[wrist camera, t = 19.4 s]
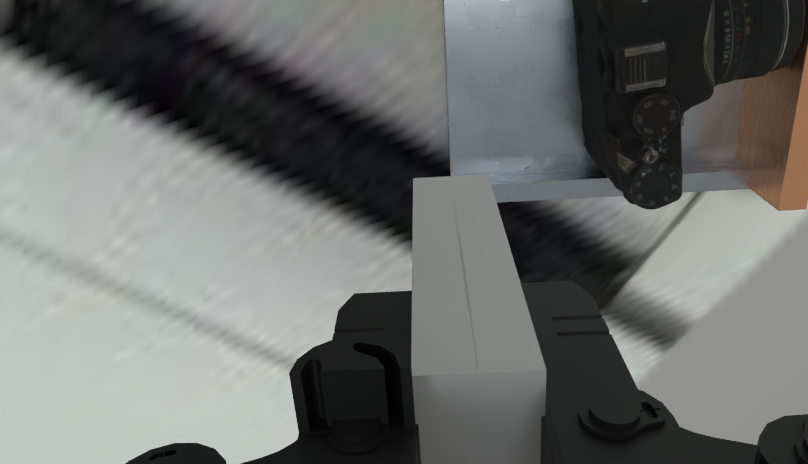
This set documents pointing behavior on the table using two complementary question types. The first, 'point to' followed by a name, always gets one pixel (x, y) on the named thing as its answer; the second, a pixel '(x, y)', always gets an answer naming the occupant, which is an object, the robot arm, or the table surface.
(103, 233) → the table surface
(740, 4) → the camera
